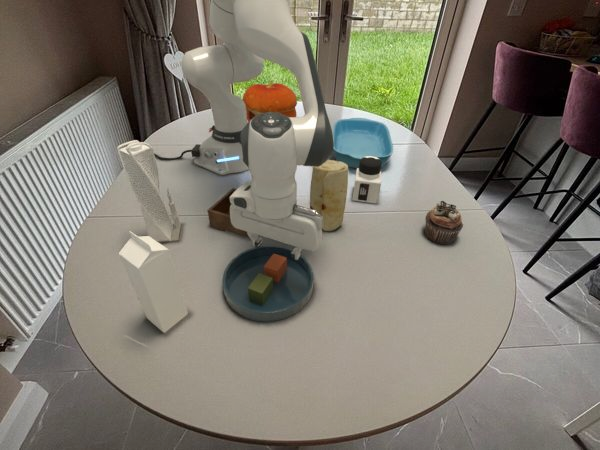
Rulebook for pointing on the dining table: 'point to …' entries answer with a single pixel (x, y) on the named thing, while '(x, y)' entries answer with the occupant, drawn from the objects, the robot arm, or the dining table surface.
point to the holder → (223, 215)
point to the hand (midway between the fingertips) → (276, 251)
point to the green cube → (260, 289)
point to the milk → (154, 280)
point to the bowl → (285, 293)
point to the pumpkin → (269, 100)
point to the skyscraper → (149, 191)
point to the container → (368, 180)
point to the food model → (329, 192)
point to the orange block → (276, 267)
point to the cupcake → (443, 223)
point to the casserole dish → (361, 141)
